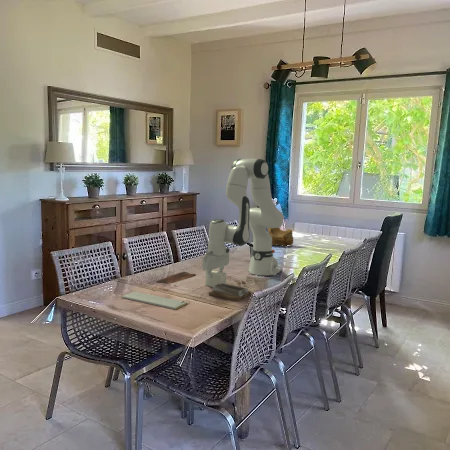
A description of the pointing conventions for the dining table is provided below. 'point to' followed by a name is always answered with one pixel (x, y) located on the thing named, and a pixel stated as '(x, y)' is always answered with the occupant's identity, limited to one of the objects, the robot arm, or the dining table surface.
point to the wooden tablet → (176, 277)
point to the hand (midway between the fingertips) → (215, 276)
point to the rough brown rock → (281, 236)
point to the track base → (229, 292)
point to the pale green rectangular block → (215, 278)
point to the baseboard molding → (155, 300)
